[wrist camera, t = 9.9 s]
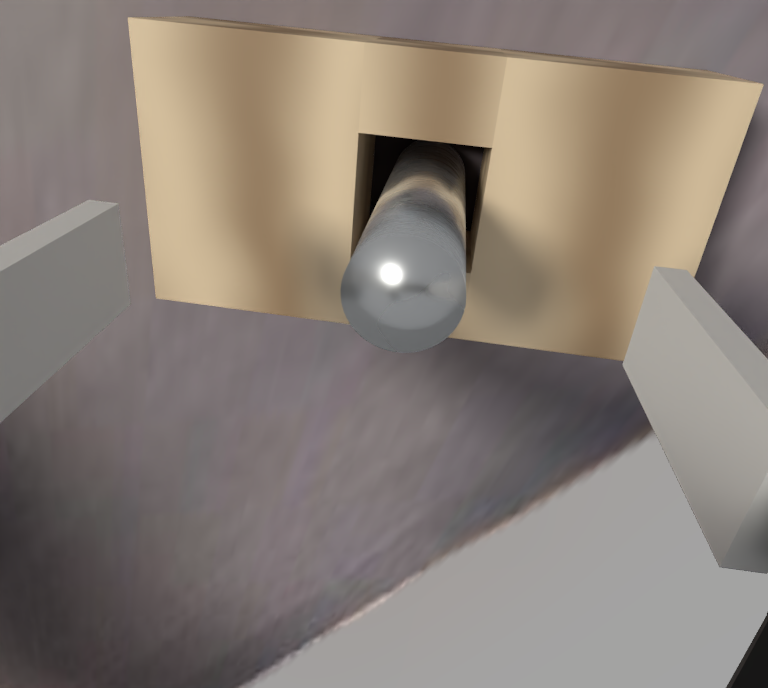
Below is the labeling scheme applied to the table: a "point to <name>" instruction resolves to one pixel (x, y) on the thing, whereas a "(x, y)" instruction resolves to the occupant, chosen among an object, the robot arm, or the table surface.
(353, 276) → the peg
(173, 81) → the hole block
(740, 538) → the robot arm
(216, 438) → the table surface
